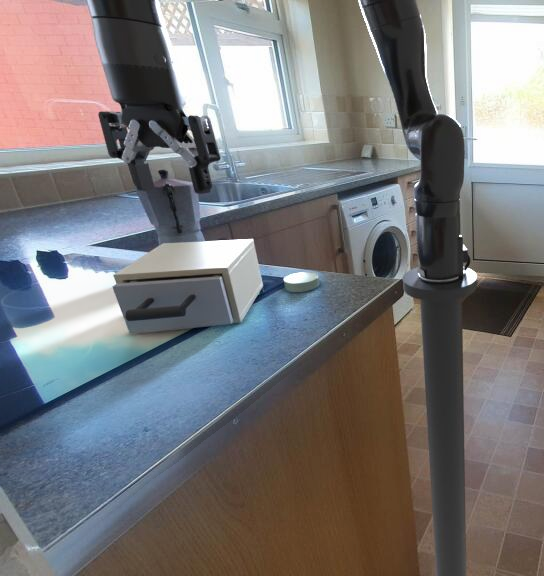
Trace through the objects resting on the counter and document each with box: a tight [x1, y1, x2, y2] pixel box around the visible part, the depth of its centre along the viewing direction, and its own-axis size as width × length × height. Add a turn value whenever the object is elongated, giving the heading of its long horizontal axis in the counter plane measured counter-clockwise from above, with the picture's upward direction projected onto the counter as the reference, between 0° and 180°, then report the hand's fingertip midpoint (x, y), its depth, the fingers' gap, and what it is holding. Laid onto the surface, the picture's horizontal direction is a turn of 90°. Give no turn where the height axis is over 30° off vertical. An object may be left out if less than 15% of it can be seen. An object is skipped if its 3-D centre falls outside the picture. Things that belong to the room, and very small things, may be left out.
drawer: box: [112, 273, 233, 335], centre depth 63 cm, size 20×13×7 cm, turn 18°
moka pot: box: [133, 169, 206, 246], centre depth 81 cm, size 10×15×20 cm, turn 44°
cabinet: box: [112, 238, 264, 325], centre depth 68 cm, size 16×14×9 cm
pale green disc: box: [283, 271, 321, 293], centre depth 78 cm, size 6×6×2 cm
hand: (174, 191), depth 59 cm, fingers open, 8 cm apart
